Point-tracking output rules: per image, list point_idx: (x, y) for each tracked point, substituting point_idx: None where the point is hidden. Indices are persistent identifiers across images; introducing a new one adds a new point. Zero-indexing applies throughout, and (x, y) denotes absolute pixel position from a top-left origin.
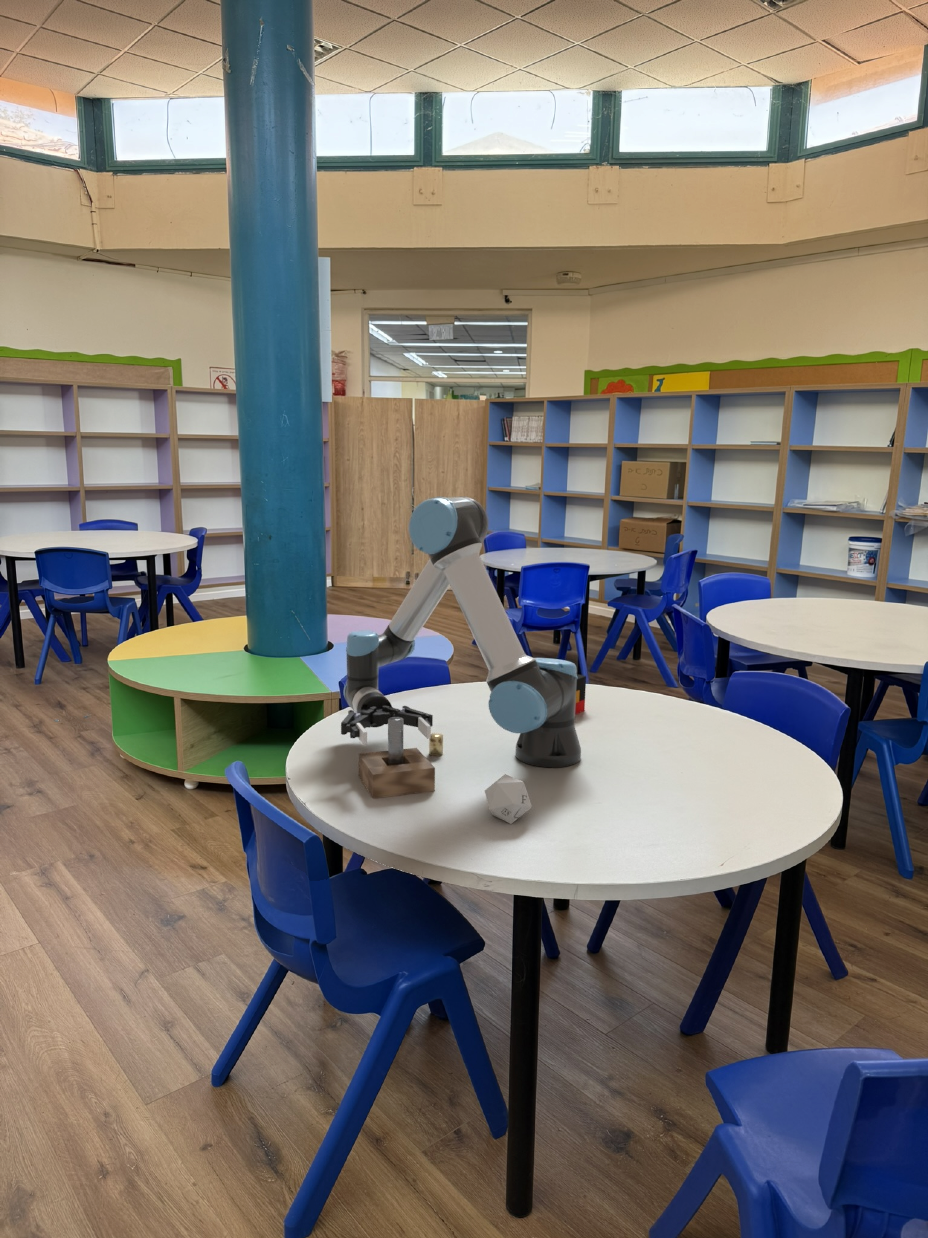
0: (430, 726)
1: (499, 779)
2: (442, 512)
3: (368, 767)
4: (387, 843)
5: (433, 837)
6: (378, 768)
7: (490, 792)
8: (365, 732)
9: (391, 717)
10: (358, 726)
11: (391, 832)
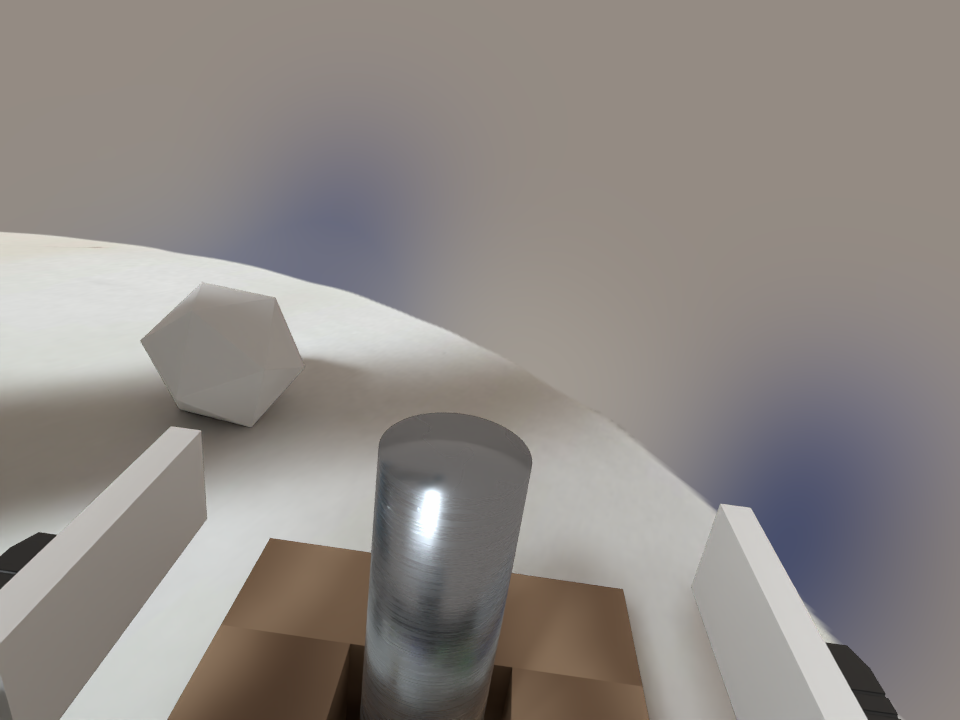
0: (172, 430)
1: (232, 314)
2: None
3: (640, 690)
4: (598, 433)
5: (478, 415)
6: (578, 651)
7: (279, 341)
8: (732, 508)
9: (477, 494)
10: (833, 664)
11: (576, 462)
